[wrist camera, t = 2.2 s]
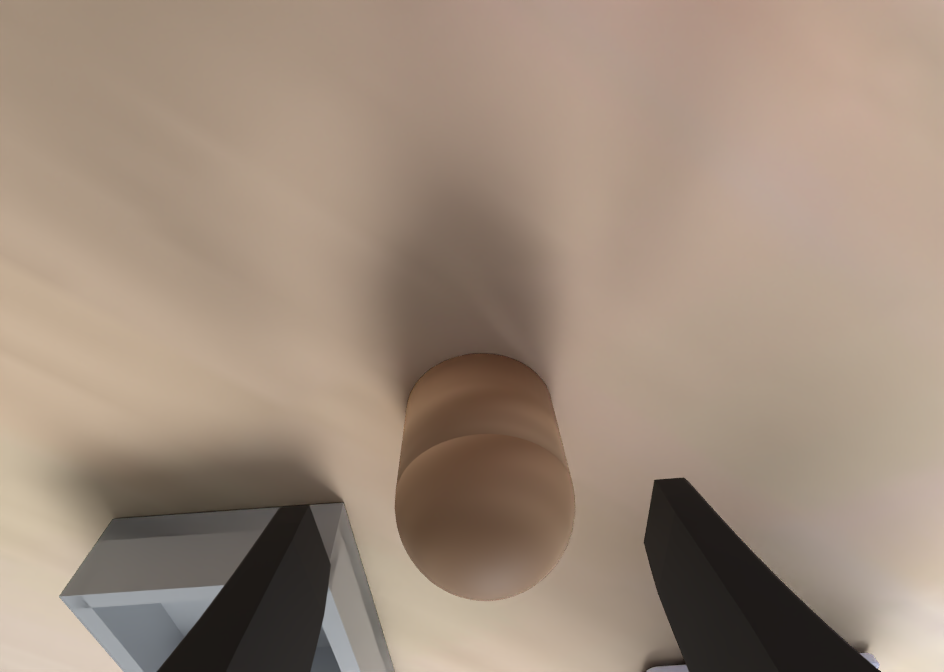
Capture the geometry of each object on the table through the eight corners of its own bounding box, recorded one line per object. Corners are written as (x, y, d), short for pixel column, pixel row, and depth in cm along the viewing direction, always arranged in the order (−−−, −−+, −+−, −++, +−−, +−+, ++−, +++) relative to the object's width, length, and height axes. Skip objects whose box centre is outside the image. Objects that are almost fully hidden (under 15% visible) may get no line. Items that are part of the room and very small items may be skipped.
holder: (343, 502, 16) (326, 578, 13) (406, 709, 23) (401, 780, 21) (112, 518, 16) (58, 596, 14) (247, 719, 23) (226, 790, 21)
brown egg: (552, 347, 13) (600, 507, 9) (551, 460, 15) (588, 633, 11) (396, 359, 13) (366, 523, 9) (416, 470, 15) (401, 646, 11)
